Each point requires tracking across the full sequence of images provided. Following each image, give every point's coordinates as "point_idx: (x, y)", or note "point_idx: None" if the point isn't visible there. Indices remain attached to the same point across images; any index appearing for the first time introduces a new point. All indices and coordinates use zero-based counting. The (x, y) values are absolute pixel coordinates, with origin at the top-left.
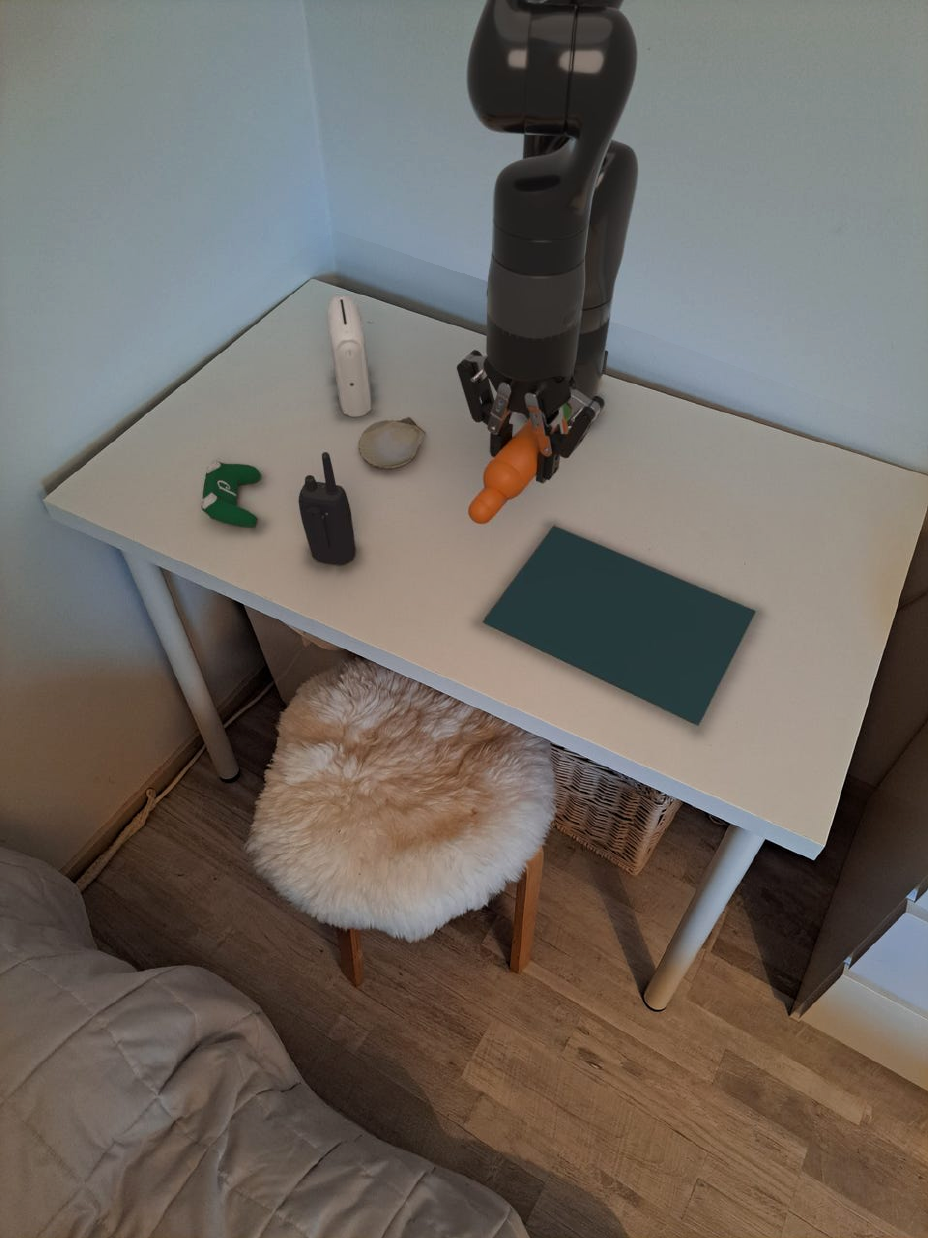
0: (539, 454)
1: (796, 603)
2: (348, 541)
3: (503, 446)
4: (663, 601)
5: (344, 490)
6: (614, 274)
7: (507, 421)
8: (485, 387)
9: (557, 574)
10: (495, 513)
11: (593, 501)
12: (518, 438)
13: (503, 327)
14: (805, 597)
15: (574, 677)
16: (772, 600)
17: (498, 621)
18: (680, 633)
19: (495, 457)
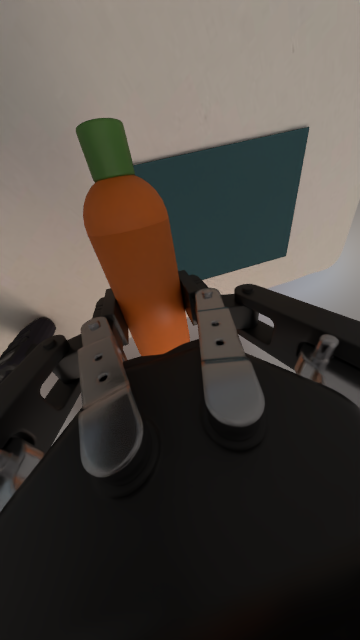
0: (195, 323)
1: (341, 77)
2: (48, 337)
3: (125, 322)
4: (242, 181)
5: (14, 363)
6: None
7: (115, 335)
8: (37, 400)
9: None
10: None
11: (114, 78)
12: (144, 321)
13: None
14: (349, 58)
15: (218, 280)
16: (320, 94)
17: None
18: (262, 202)
19: (145, 354)
